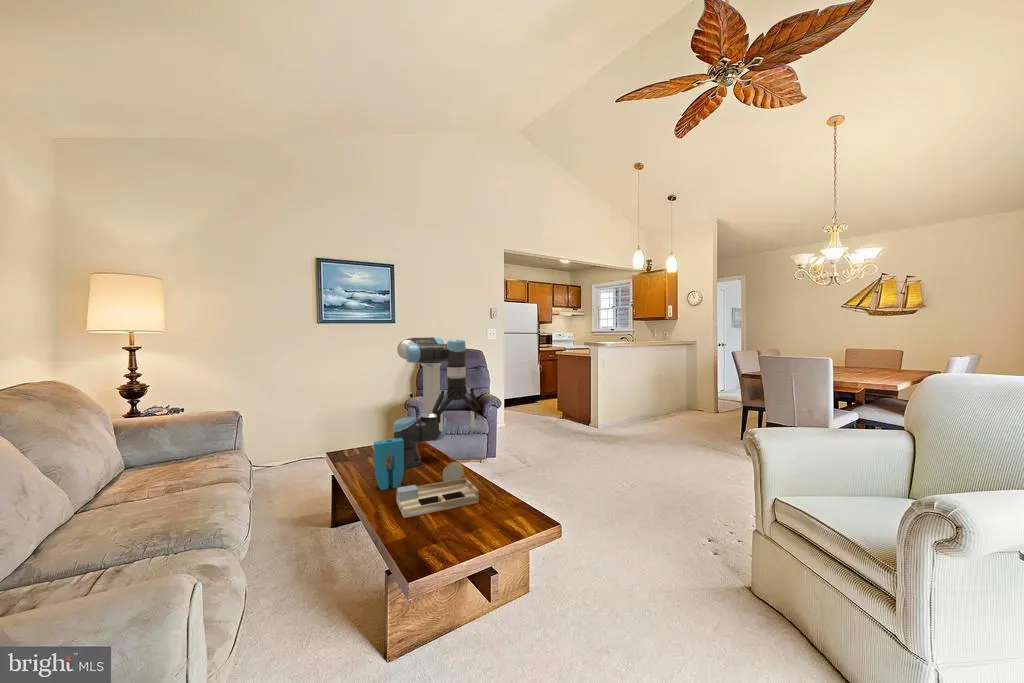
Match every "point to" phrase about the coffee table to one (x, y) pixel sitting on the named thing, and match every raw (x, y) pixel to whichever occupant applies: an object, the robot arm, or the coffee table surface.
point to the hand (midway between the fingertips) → (457, 428)
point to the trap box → (440, 497)
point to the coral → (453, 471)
